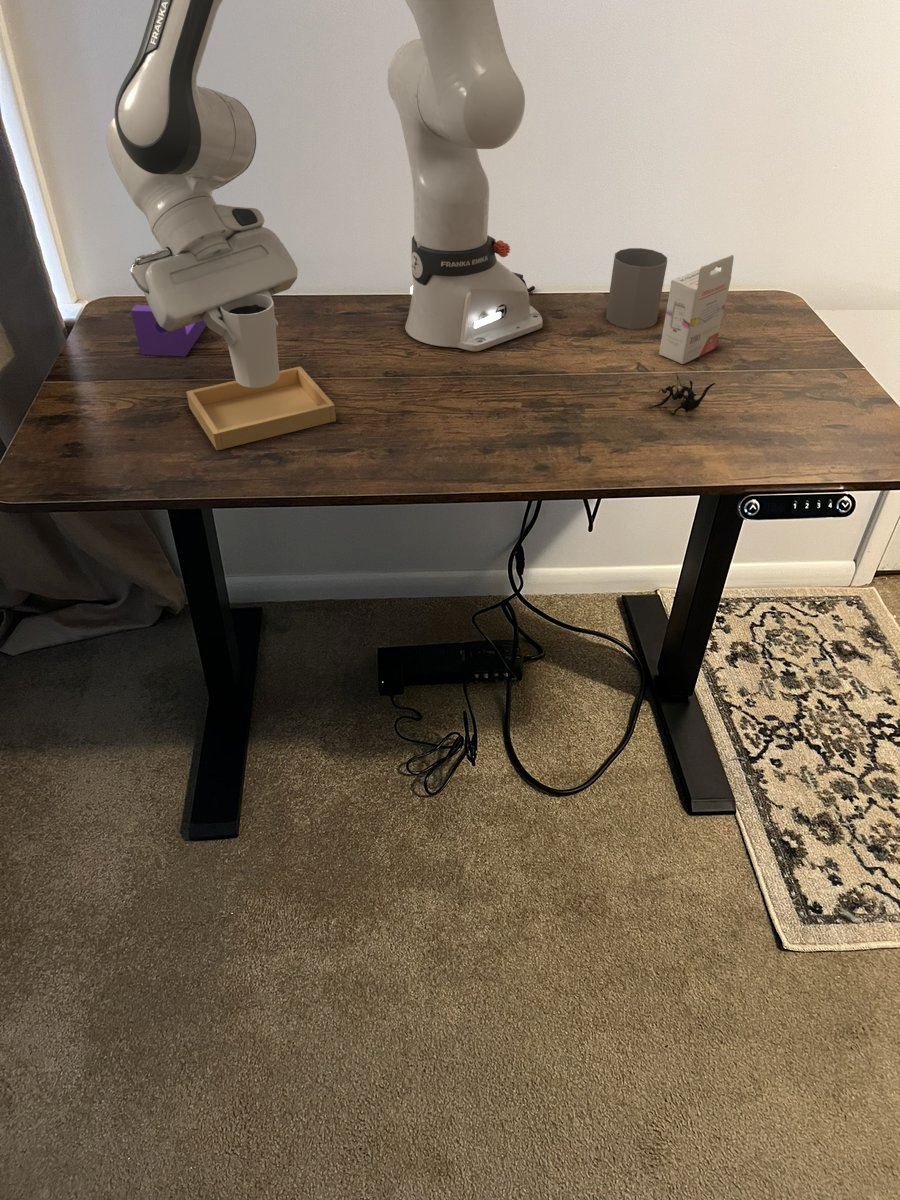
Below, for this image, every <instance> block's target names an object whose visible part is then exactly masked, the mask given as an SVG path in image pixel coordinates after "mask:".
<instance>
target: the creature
mask: <svg viewBox="0 0 900 1200" xmlns="http://www.w3.org/2000/svg"><path fill="white" fill-rule="evenodd" d="M675 374H676V380H677V381H676V383H677V386H676V385H671V386H670V385H668V386H666V387H665V388H660V389H659V390H658V391H657V394H659V393H660V392H661V393H663V394H667V392H669V394H668V395H667V396H666V397H665V398H664V399H663V400H662V401H661V402H659V403H657V404H655V405H653V406H648V409H650V408H658V407H662V408H664V409H668V407H667V406H663V405H665V404H666V403H667V402H668V401H669V399H672V400H673V401H677V400H682V401H681V402H680V403H679V407H677V408H675V409H674V411H671V410H668V412H669V413H670V414H671V415H672V416H675V415H676V414H677V412H678V410H679V409H683V411H685V413H686V414H688V413H689V412H692V411H694V410H695V409H697V408H698V407H700V404H701V403H702V401H703V400H704V399H705V396H706V395H707V393H708V391H709V390H710V389H711V388H712V387H713V386H715V385H717V383H716V382H712V383H710V384H709V385H708V386H707V387H705V389H704V390H703V391H702V394H701V396H700V397H699V398H698V399H695V397H697V394H696V393H694V391H693V386H694V383H693V381H692V380H689V385H690V387H689V386H686V385H682V384H681V381H680V379H679V375H678V373H677V372H675ZM679 386H680V387H681V389H680V390H679ZM674 388H675V389H676V391H675V392H674ZM685 392H687V396H686V394H685Z"/></svg>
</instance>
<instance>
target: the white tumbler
mask: <svg viewBox="0 0 900 1200" xmlns="http://www.w3.org/2000/svg"><path fill="white" fill-rule="evenodd" d="M220 311H221V321H223V322H224V323H225V324H226V325H227V327H228V329H229V330H230V332H231V333H232V335H233V336H234V337H235V338H236V340H237V343H236V344H235V345H234V346H233V347H229V346H228V345H227V347H228V351H229V352H228V353H229V356H230V361H231V365H232V370H233V375H234V379H235V380H234V381H237V383H238V384H240V385H242V386H245V387H250V388H260V387H265V386H269V385H271V384H273V383H275V382H276V381H277V380H278V379H279V375H280V374H279V371H280V364H279V363H280V362H279V352H278V339H277V329H276V325H275V319H276V314H275V303H274V300H273V298H272V299H271V298H270V297H268V296H266V295H262V294H254V295H251V296H248V297H245V298H242V299H240V300H237V301H234V302H231V303H228V304H226V305H223V306H220Z"/></svg>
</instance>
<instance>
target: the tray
mask: <svg viewBox="0 0 900 1200" xmlns="http://www.w3.org/2000/svg"><path fill="white" fill-rule="evenodd" d="M279 374H280V375H279V379H278V380H277V381H276V382H275V383H273V384H271V385H269V386H265V387H260V388H250V387H245V386H242V385H240V384H238V383H237V381H236V380H232V381H227V382H223V383H219V384H213V385H210V386H205V387H200V388H196V389H192V390H190V389H189V390H186V392H185V394H186V397H187V403H188V407H189V409H190V411H191V413H192V414H193V416H194V418H195V419H196V420H197V422H198V424H199V425H200V426H201V428H202V430H203V431H204V433H205V435H206V436H207V438H208V439H209V441H210V442H211V444H212V445H213V448H214V449H215V450H216V451H221V450H225V449H229V448H233V447H238V446H241V445H245V444H249V443H253V442H257V441H260V440H266V439H269V438H273V437H278V436H281V435H286V434H289V433H293V432H298V431H301V430H305V429H310V428H313V427H317V426H321V425H326V424H330V423H333V422H336V421H337V415H336V404H334V402H333V401H332V400H331V398H329V397H328V395H327V394H326V393H325V392H324V391H323V390H322V389H321V387H320V386H319V385H318V384H317V383H316V382H315V380H314V379H313V378H311V376H310V375H309V374H308V373H307V372H306V371H305V369H304V368H303V367H302V366H295V367H292V368H291V367H290V368H287V369H282V370H279Z"/></svg>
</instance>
